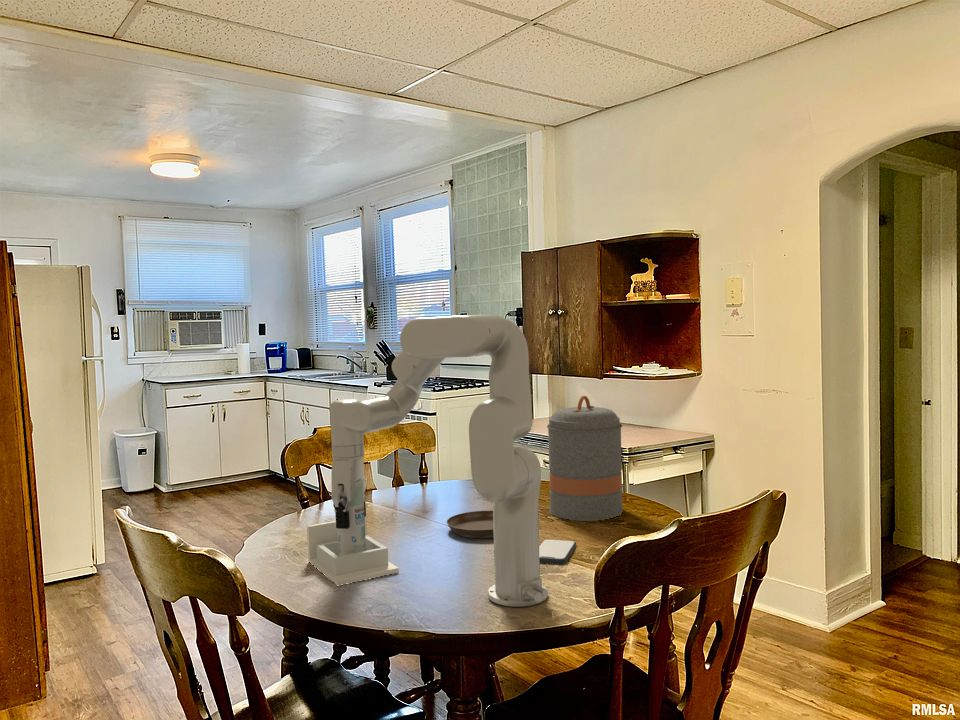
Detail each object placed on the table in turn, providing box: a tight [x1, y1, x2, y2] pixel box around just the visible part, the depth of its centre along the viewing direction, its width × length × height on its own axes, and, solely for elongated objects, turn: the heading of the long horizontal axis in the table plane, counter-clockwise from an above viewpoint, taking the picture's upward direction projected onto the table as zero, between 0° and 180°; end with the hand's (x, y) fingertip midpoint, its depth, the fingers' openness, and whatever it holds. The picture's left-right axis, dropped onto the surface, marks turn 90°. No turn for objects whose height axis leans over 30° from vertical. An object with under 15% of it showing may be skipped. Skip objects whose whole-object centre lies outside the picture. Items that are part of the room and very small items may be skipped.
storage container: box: [546, 395, 624, 522], centre depth 219 cm, size 22×22×35 cm
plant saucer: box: [446, 510, 494, 539], centre depth 203 cm, size 21×21×3 cm
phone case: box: [539, 539, 577, 565], centre depth 181 cm, size 9×2×16 cm
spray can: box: [338, 479, 366, 556], centre depth 174 cm, size 6×6×20 cm
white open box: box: [306, 516, 400, 586], centre depth 174 cm, size 20×15×9 cm
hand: (351, 522), depth 174 cm, fingers open, 9 cm apart
